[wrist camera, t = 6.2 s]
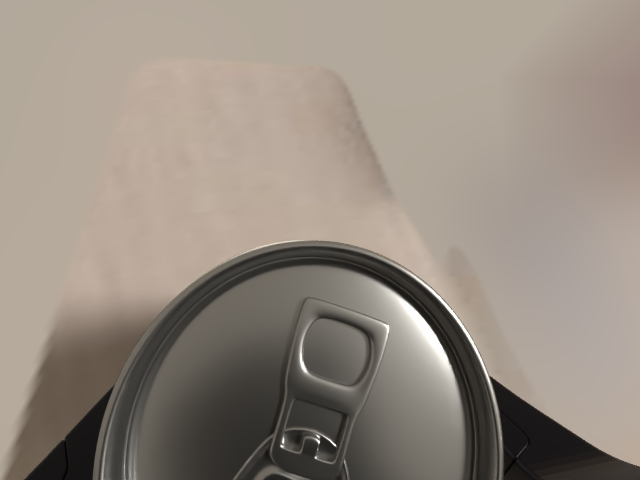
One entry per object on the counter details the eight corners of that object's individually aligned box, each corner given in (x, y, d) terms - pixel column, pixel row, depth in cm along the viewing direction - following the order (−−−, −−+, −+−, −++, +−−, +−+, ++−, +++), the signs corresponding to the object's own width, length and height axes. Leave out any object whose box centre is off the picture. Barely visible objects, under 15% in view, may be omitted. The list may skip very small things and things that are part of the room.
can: (201, 393, 14) (-86, 698, 3) (250, 269, 16) (191, 157, 5) (325, 433, 15) (501, 842, 3) (360, 307, 17) (552, 289, 5)
